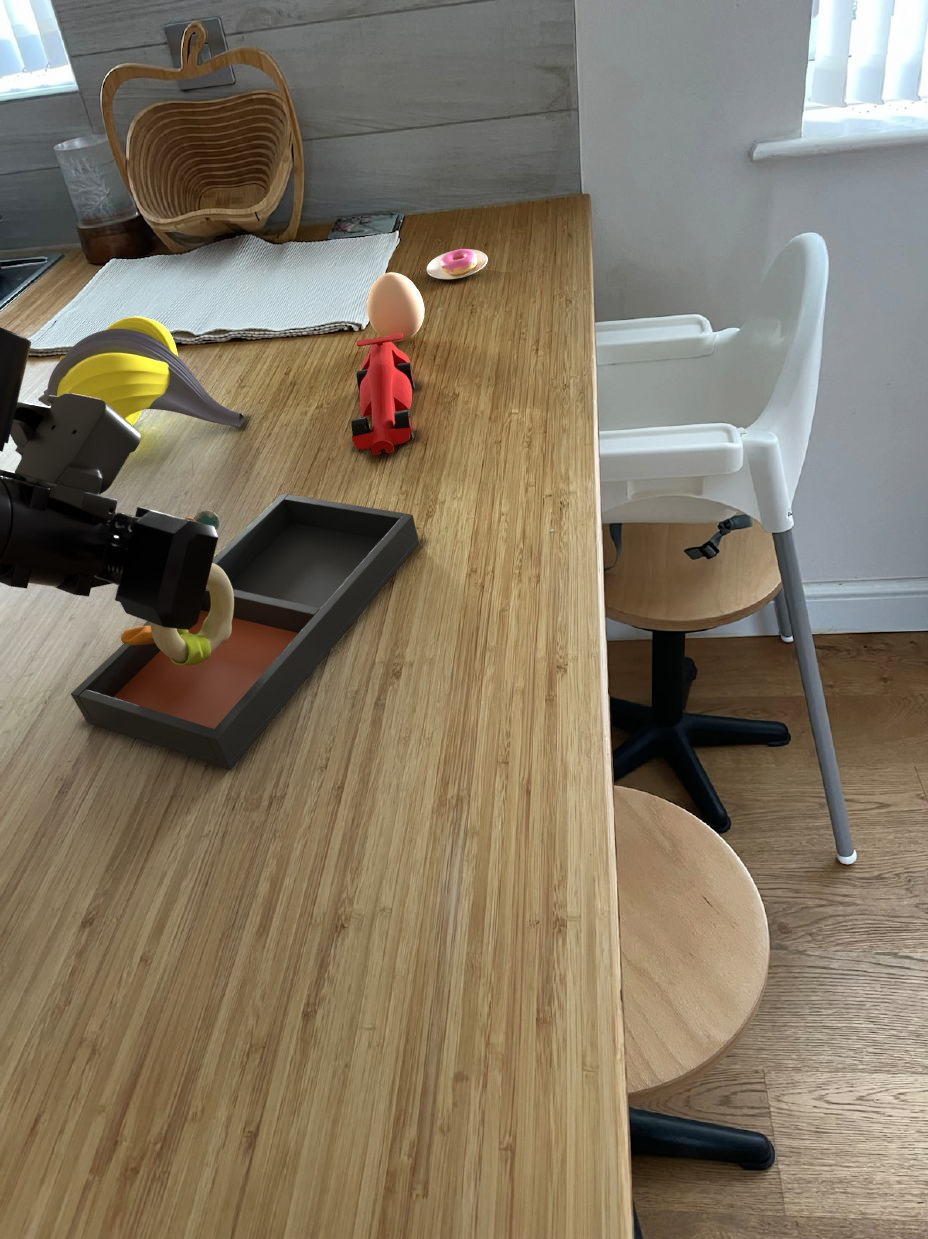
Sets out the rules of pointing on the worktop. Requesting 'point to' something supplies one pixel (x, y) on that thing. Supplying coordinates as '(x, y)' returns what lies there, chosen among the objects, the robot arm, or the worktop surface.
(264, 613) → the tray
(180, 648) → the rattle
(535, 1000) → the worktop surface
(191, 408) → the yellow grey curved horn
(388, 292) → the egg
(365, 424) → the toy car
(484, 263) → the donut
